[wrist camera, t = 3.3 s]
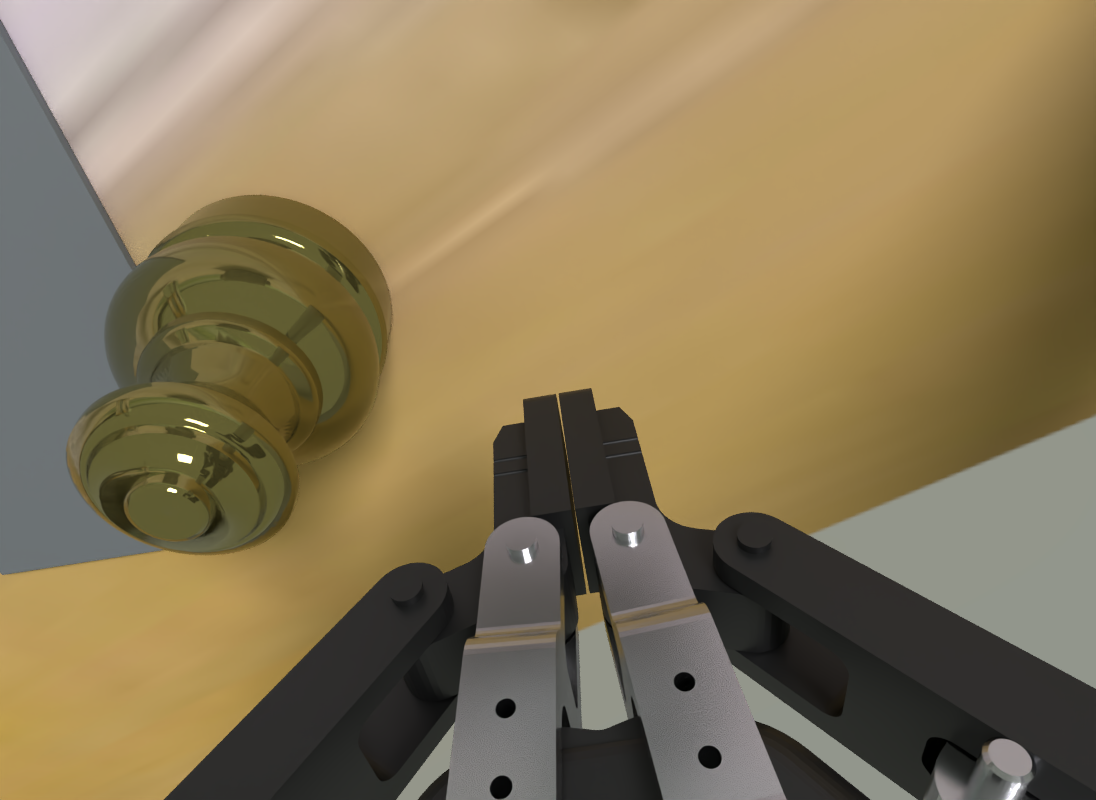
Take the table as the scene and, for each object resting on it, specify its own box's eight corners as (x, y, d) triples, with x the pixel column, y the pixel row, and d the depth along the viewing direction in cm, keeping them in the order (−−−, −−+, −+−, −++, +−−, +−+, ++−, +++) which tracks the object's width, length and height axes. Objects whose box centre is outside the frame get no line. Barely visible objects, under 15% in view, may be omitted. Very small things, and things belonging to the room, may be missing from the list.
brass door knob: (190, 387, 25) (41, 622, 17) (136, 181, 21) (-98, 363, 12) (399, 394, 26) (353, 623, 18) (389, 196, 21) (323, 378, 13)
